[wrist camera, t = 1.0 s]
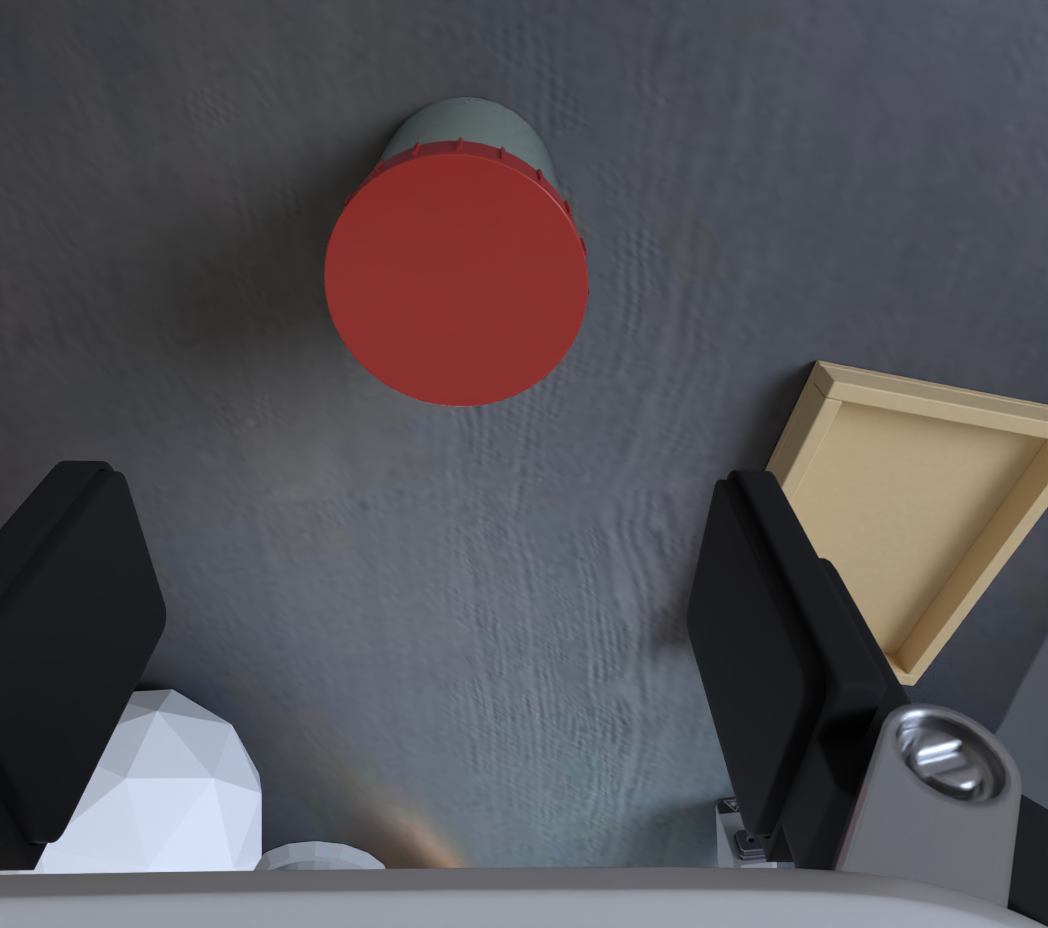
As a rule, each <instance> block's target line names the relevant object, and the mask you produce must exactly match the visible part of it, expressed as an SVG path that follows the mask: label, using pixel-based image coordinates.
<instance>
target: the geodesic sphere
mask: <svg viewBox="0 0 1048 928" xmlns="http://www.w3.org/2000/svg"><path fill="white" fill-rule="evenodd" d="M260 859H261V786H260V778H259V773H258V771H257V769H256V768H255V766H254V764H253V762H252V760H251V759H250V757H249V755H248V753H247V751H246V749H245V748H244V746H243V744H242V742H241V740H240V739H239V737H238V735H237V733H236V731H235V729H234V728H233V726H232V725H231V724H230V723H228V722H226V721H225V720H223V719H221V718H220V717H218V716H216V715H215V714H213V713H211V712H210V711H208V710H206V709H205V708H203V707H201V706H200V705H198V704H196V703H195V702H193V701H191V700H190V699H188V698H186V697H185V696H183V695H181V694H180V693H178V692H176V691H175V690H173V689H170V690H153V691H137V692H133V693H132V695H131V698H130V700H129V702H128V704H127V706H126V708H125V710H124V712H123V714H122V716H121V718H120V720H119V722H118V724H117V726H116V728H115V730H114V732H113V734H112V736H111V738H110V740H109V742H108V744H107V746H106V748H105V750H104V752H103V754H102V757H101V759H100V761H99V763H98V765H97V767H96V769H95V771H94V773H93V775H92V777H91V779H90V781H89V783H88V785H87V787H86V789H85V791H84V793H83V795H82V797H81V799H80V801H79V803H78V805H77V807H76V809H75V811H74V813H73V815H72V818H71V820H70V822H69V824H68V826H67V828H66V830H65V831H64V833H63V835H62V836H61V837H60V838H59V839H58V840H57V841H56V842H54V843H48V844H47V846H46V848H45V850H44V852H43V854H42V856H41V857H40V859H39V861H38V863H37V865H36V867H35V869H34V870H22V871H0V875H12V874H70V873H131V872H192V871H253V870H254V869H255V867H256V865H257V864H258V862H259V860H260Z"/></svg>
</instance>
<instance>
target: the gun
mask: <svg viewBox="0 0 1048 928" xmlns="http://www.w3.org/2000/svg"><path fill="white" fill-rule="evenodd" d="M716 826H717V847H718V868H777V862H766V859H765V855H764V852H763V849H762V845H761V842H760V839H759V836H749V835H748V834H747V832H746V830H745V828H744V825H743V822H742V819H741V815H740V812H739V808H738V805H737V801H736V798H733V799H723V800H719V802H718V803H717V804H716Z"/></svg>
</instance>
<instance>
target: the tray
mask: <svg viewBox="0 0 1048 928" xmlns="http://www.w3.org/2000/svg"><path fill="white" fill-rule="evenodd" d="M765 471H770V472H772V473H773V474H774V475H775V477H776V479H777V481H778V483H779V485H780V486H781V488H782V490H783V492H784V494H785V496H786V498H787V499H788V501H789V503H790V505H791V507H792V509H793V511H794V512H795V514H796V516H797V518H798V520H799V522H800V524H801V525H802V527H803V529H804V531H805V533H806V535H807V537H808V538H809V540H810V542H811V544H812V546H813V548H814V549H815V551H816V553H817V555H818V557H819V558H825V559H827V560H829V561H831V563H832V564H833V565H834V567H835V568H836V569H837V571H838V573H839V575H840V577H841V578H842V580H843V582H844V584H845V586H846V587H847V589H848V591H849V593H850V595H851V596H852V598H853V600H854V602H855V603H856V605H857V607H858V609H859V611H860V612H861V614H862V616H863V618H864V620H865V621H866V623H867V625H868V627H869V629H870V630H871V632H872V634H873V636H874V638H875V639H876V641H877V643H878V645H879V647H880V648H881V650H882V652H883V654H884V655H885V657H886V659H887V661H888V663H889V664H890V666H891V668H892V670H893V672H894V673H895V675H896V677H897V679H898V681H899V682H900V684H904V685H911V686H913V685H914V684H915V683H916V682H917V680H918V679H919V678H920V676H921V675H922V674H923V673H924V671H925V670H926V669H927V667H928V666H929V665H930V663H931V662H932V661H933V659H934V658H935V657H936V655H937V654H938V653H939V651H940V650H941V649H942V647H943V646H944V645H945V643H946V642H947V641H948V639H949V638H950V637H951V635H952V634H953V633H954V631H955V630H956V629H957V627H958V626H959V625H960V623H961V622H962V621H963V619H964V618H965V617H966V615H967V614H968V613H969V611H970V610H971V608H972V607H973V606H974V604H975V603H976V602H977V600H978V599H979V598H980V596H981V595H982V594H983V592H984V591H985V590H986V588H987V587H988V586H989V584H990V583H991V582H992V580H993V579H994V578H995V576H996V575H997V574H998V572H999V571H1000V570H1001V568H1002V567H1003V566H1004V564H1005V563H1006V562H1007V560H1008V559H1009V558H1010V556H1011V555H1012V554H1013V552H1014V551H1015V550H1016V548H1017V547H1018V546H1019V544H1020V543H1021V542H1022V540H1023V539H1024V538H1025V536H1026V535H1027V533H1028V532H1029V531H1030V529H1031V528H1032V527H1033V525H1034V524H1035V523H1036V521H1037V520H1038V519H1039V517H1040V516H1041V515H1042V513H1043V512H1044V511H1045V509H1046V508H1047V507H1048V405H1046V404H1041V403H1036V402H1031V401H1026V400H1020V399H1015V398H1010V397H1005V396H1000V395H995V394H989V393H984V392H979V391H974V390H969V389H964V388H958V387H953V386H948V385H943V384H938V383H933V382H927V381H922V380H917V379H912V378H907V377H902V376H896V375H891V374H886V373H881V372H876V371H871V370H865V369H860V368H855V367H850V366H845V365H840V364H834V363H829V362H824V361H819V360H817V361H816V363H815V365H814V367H813V370H812V372H811V374H810V376H809V378H808V380H807V382H806V384H805V386H804V389H803V391H802V393H801V395H800V397H799V399H798V401H797V403H796V405H795V408H794V410H793V412H792V414H791V416H790V418H789V420H788V422H787V424H786V427H785V429H784V431H783V433H782V435H781V437H780V439H779V441H778V443H777V446H776V448H775V450H774V452H773V454H772V456H771V458H770V460H769V462H768V465H767V467H766V469H765Z"/></svg>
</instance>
